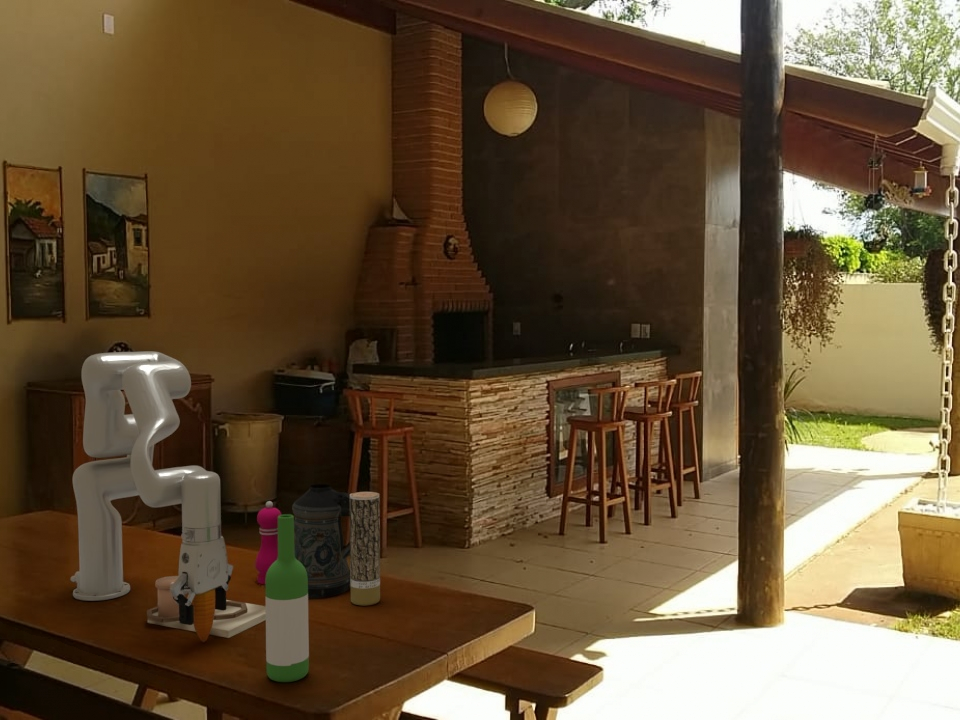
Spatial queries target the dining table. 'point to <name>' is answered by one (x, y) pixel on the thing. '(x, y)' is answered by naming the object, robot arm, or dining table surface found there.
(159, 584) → the pink lidded jar
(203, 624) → the carrot
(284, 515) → the wine bottle
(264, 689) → the dining table surface
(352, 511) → the paper tube
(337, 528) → the beer stein
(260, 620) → the stand
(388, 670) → the dining table surface
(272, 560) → the pepper mill
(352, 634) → the dining table surface
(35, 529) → the dining table surface
